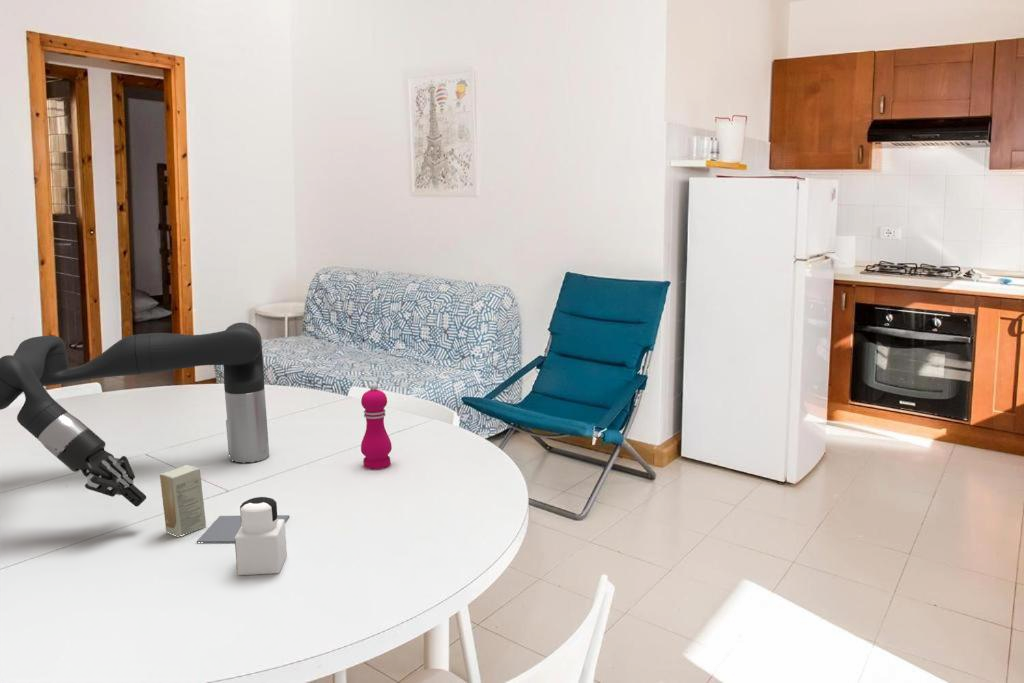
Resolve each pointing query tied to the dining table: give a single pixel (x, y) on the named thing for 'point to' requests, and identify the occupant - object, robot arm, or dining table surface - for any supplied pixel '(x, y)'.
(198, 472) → the skincare box
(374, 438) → the pepper mill
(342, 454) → the dining table surface
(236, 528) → the grey rubber mat
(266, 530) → the medicine bottle
